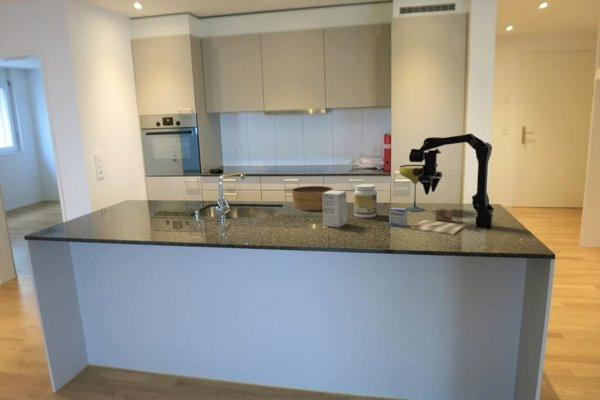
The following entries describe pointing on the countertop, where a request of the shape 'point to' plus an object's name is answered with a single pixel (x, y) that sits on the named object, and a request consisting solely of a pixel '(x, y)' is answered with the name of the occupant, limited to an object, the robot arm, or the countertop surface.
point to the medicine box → (398, 217)
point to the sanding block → (444, 215)
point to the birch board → (438, 227)
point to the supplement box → (334, 208)
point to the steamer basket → (309, 197)
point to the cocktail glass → (408, 173)
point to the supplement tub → (365, 201)
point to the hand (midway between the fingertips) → (430, 193)
